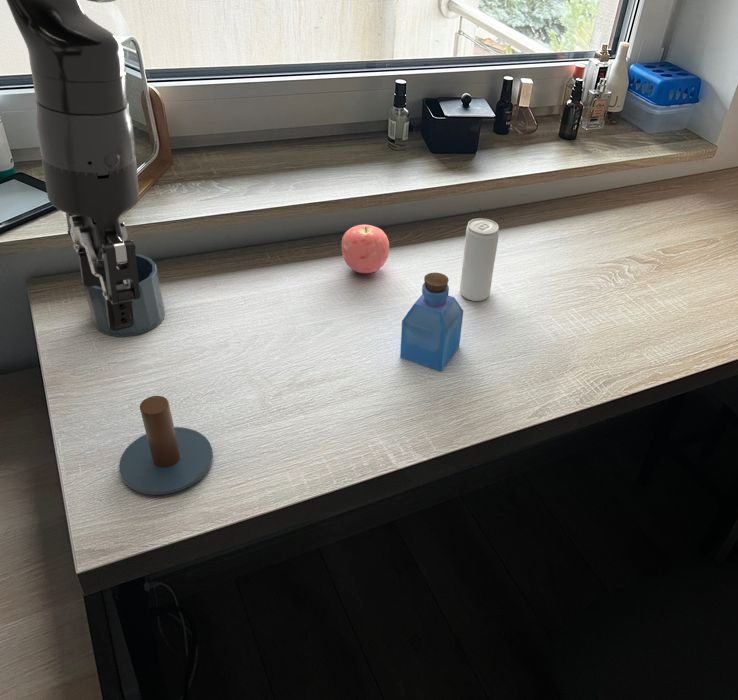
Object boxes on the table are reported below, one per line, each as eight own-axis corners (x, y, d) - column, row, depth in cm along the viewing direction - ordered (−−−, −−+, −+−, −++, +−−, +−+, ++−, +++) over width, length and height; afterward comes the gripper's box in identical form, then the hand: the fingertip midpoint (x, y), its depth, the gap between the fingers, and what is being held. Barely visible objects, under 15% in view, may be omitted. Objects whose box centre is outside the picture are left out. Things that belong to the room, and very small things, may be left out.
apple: (389, 282, 113) (391, 237, 108) (341, 282, 111) (341, 236, 107) (387, 257, 118) (389, 214, 113) (342, 256, 117) (341, 212, 112)
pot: (110, 345, 95) (97, 298, 90) (83, 311, 100) (70, 265, 95) (176, 321, 100) (167, 276, 95) (148, 291, 105) (138, 246, 100)
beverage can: (453, 293, 112) (460, 224, 105) (472, 281, 115) (481, 214, 108) (476, 306, 110) (485, 237, 103) (496, 294, 113) (506, 226, 106)
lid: (143, 513, 75) (126, 452, 69) (106, 458, 80) (87, 397, 74) (229, 470, 80) (220, 411, 75) (189, 422, 85) (177, 363, 80)
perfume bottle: (400, 357, 99) (404, 283, 91) (419, 333, 103) (424, 261, 96) (441, 371, 97) (448, 298, 90) (459, 346, 102) (467, 274, 94)
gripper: (21, 124, 66) (47, 277, 75) (65, 190, 58) (88, 352, 67) (109, 120, 70) (123, 265, 79) (161, 180, 62) (170, 334, 71)
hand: (107, 305), depth 73 cm, fingers open, 8 cm apart
